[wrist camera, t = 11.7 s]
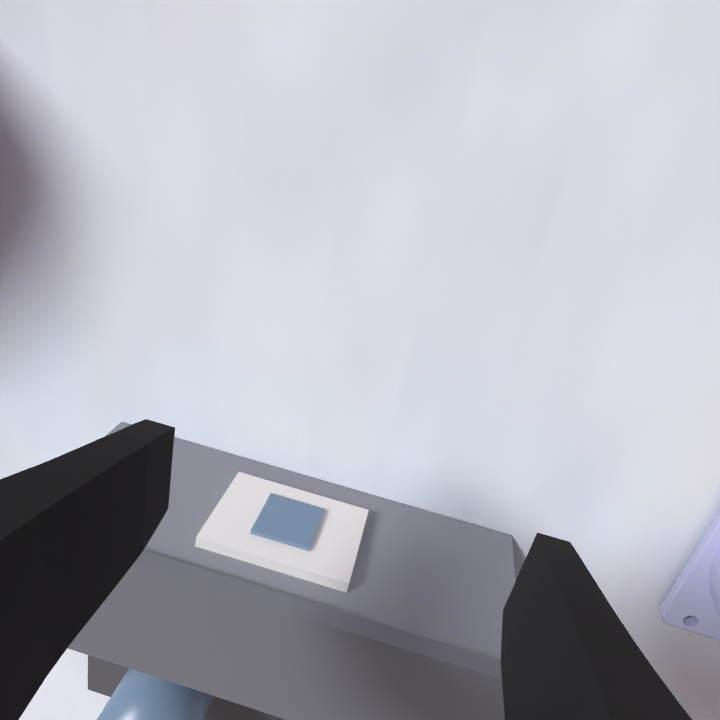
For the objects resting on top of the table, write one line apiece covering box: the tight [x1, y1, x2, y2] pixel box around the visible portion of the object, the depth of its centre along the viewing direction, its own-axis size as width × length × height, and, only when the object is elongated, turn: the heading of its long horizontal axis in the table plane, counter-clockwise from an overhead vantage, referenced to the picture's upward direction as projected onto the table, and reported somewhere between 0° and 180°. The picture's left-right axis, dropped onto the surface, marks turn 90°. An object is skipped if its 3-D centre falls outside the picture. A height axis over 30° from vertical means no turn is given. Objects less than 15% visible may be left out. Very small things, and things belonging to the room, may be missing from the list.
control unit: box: [68, 422, 516, 720], centre depth 20 cm, size 17×5×7 cm, turn 78°
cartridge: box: [97, 668, 214, 720], centre depth 25 cm, size 4×4×5 cm
